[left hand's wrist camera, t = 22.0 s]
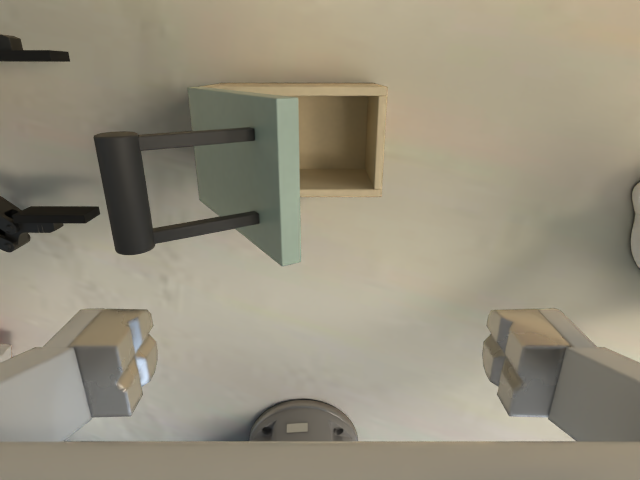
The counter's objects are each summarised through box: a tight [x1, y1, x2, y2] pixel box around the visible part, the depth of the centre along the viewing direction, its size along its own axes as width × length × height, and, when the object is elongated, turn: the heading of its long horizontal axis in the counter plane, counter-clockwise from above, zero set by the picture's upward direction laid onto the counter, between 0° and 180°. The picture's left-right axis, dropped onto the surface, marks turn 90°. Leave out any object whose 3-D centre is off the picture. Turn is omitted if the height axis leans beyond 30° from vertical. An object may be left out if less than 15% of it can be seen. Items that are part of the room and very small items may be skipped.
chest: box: [200, 83, 388, 197], centre depth 40 cm, size 15×9×9 cm, turn 90°
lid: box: [94, 87, 301, 266], centre depth 27 cm, size 16×9×9 cm
